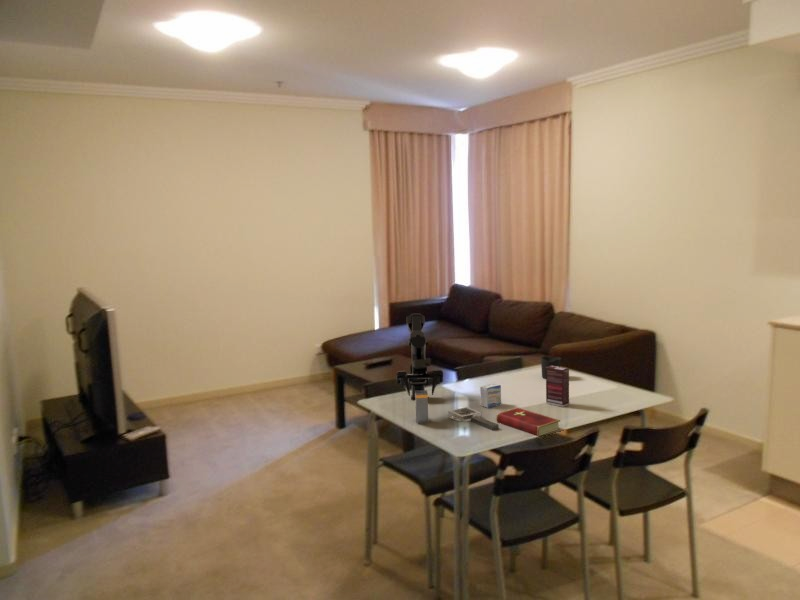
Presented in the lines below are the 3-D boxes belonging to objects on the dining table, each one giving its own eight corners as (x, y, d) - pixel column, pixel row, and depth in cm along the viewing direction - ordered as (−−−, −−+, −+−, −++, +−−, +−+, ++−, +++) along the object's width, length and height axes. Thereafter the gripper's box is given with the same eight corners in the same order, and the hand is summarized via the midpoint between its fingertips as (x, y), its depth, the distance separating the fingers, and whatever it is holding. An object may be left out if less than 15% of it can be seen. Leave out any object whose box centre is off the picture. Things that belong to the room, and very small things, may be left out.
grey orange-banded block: (415, 419, 241) (415, 390, 240) (427, 419, 241) (426, 390, 240) (416, 423, 237) (415, 393, 235) (428, 423, 237) (427, 393, 235)
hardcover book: (538, 437, 218) (538, 426, 218) (496, 423, 235) (496, 413, 235) (559, 430, 225) (559, 419, 225) (518, 417, 242) (517, 406, 242)
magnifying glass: (443, 415, 245) (443, 410, 245) (467, 410, 251) (467, 405, 251) (483, 432, 224) (482, 427, 224) (507, 426, 230) (507, 421, 230)
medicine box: (487, 408, 253) (487, 388, 252) (480, 405, 257) (480, 386, 256) (501, 404, 258) (501, 384, 257) (494, 402, 261) (494, 382, 260)
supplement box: (569, 404, 255) (569, 367, 253) (563, 407, 251) (563, 370, 249) (551, 401, 261) (551, 364, 259) (545, 403, 257) (545, 367, 255)
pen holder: (550, 381, 293) (550, 361, 292) (537, 377, 301) (537, 357, 300) (564, 378, 297) (564, 358, 296) (551, 374, 306) (551, 355, 304)
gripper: (395, 351, 244) (397, 385, 234) (442, 350, 244) (445, 383, 234) (396, 366, 252) (397, 399, 243) (440, 365, 253) (444, 398, 243)
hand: (421, 394), depth 240 cm, fingers open, 9 cm apart
